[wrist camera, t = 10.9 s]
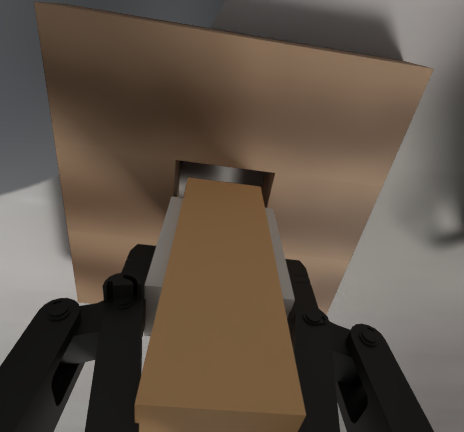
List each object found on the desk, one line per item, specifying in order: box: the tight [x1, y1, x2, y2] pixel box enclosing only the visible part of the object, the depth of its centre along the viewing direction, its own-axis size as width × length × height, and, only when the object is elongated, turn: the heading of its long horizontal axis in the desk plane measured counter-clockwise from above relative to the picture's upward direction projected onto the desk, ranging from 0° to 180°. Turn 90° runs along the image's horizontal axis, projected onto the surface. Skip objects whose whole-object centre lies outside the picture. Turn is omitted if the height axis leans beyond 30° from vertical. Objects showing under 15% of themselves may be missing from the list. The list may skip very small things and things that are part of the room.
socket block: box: [34, 2, 434, 315], centre depth 20 cm, size 18×18×3 cm
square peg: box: [135, 177, 306, 432], centre depth 14 cm, size 4×4×12 cm
